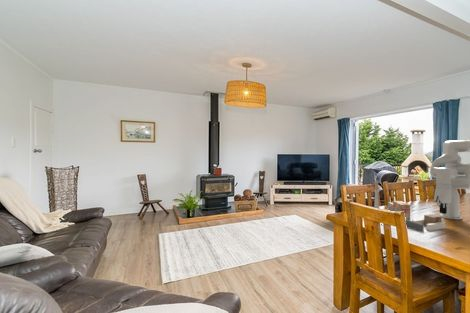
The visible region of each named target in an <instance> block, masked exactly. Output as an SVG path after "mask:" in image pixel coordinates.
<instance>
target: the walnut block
mask: <svg viewBox="0 0 470 313" xmlns="http://www.w3.org/2000/svg"><path fill="white" fill-rule="evenodd" d="M423 219H424V226H426V224H430V223H437V222H443V221H442V220H443V217H442V216H439V215H437V214H433V213H430V214H424V215H423Z"/></svg>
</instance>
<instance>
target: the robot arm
mask: <svg viewBox="0 0 470 313" xmlns="http://www.w3.org/2000/svg"><path fill="white" fill-rule="evenodd" d="M459 153H470V139H466V140H465V139H464V140H463V139H461V140H460V139H459V140H446V141H444V142H443V143H442V153H441V156H439V157H437V158H436V159H434V160H433V162H432V163H431V164H430V170H429V175H430V176H431V177H432V178H435V179H436V180H435V181H436V183H435V185H436V186H435V187H436V188H435V190H434V196H433V198H434V199H433V202H434V203H436V205H438V207H439V215H438V216H442V218H444V219H448V220H463V216H461V215H463V212H462V211H460V192H458V190H456V189H459V190H461V189H462V190H470V163H469V162H468V163H467V162H462V157H461V156H460V155H459ZM443 165H445V166H444V167H443Z"/></svg>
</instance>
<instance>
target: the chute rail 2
mask: <svg viewBox="0 0 470 313" xmlns="http://www.w3.org/2000/svg"><path fill="white" fill-rule="evenodd" d="M441 229H446V222H444V221H442V222H437V223H430V224H426V231H427V230H428V231H435V230H441Z"/></svg>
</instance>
